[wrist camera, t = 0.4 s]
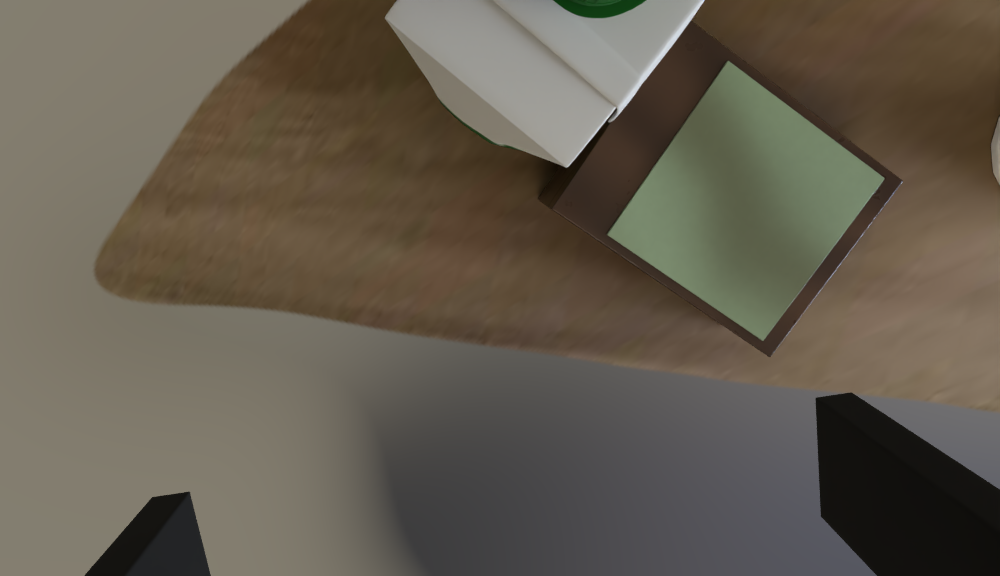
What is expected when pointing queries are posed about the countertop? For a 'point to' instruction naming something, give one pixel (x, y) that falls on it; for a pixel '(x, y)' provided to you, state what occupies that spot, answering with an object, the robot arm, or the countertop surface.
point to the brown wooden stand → (724, 190)
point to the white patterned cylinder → (996, 152)
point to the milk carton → (538, 63)
